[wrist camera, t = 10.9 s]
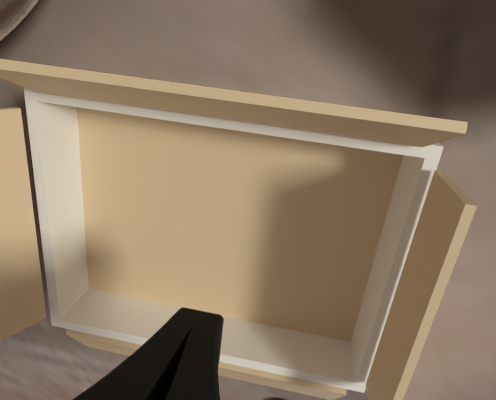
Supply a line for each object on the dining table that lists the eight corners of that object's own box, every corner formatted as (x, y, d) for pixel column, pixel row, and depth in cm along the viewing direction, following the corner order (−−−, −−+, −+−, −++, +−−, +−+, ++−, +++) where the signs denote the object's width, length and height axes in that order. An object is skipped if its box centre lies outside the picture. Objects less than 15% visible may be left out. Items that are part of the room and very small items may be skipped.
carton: (346, 384, 22) (351, 435, 19) (86, 329, 23) (55, 368, 20) (421, 130, 16) (445, 147, 13) (69, 80, 17) (21, 86, 15)
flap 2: (373, 453, 14) (381, 455, 14) (465, 204, 10) (477, 205, 10) (365, 385, 17) (372, 386, 17) (434, 170, 13) (443, 171, 13)
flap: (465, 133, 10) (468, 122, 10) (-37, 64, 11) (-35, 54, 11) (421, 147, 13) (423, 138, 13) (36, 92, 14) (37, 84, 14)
